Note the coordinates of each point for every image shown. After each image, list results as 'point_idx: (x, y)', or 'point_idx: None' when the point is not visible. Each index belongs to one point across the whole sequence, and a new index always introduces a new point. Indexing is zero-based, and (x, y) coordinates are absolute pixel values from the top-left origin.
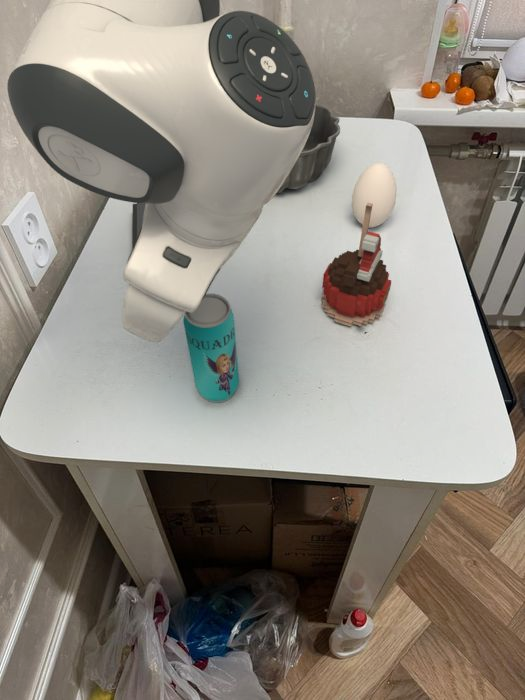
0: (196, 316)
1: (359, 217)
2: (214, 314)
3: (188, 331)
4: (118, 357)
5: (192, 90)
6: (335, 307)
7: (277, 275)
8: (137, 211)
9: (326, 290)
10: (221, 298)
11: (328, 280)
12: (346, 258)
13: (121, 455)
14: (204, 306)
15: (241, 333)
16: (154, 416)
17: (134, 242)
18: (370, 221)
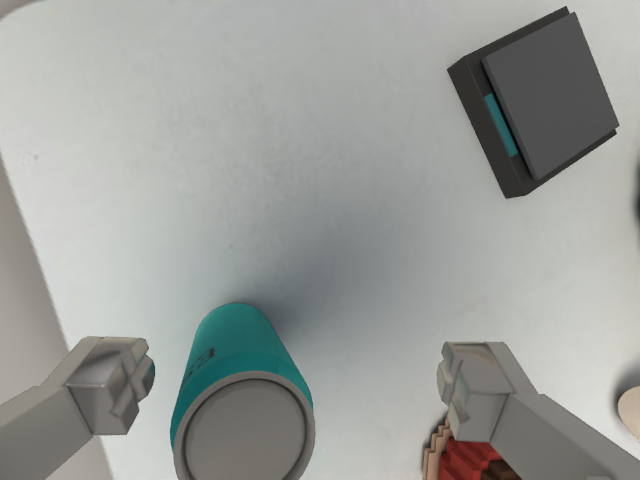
0: (208, 429)
1: (636, 405)
2: (234, 475)
3: (179, 397)
4: (239, 139)
5: None
6: (447, 453)
7: (488, 315)
8: (552, 24)
9: (472, 445)
10: (306, 451)
11: (491, 458)
12: None
13: (37, 246)
14: (255, 429)
15: (357, 316)
16: (140, 260)
17: (483, 51)
18: (632, 424)
